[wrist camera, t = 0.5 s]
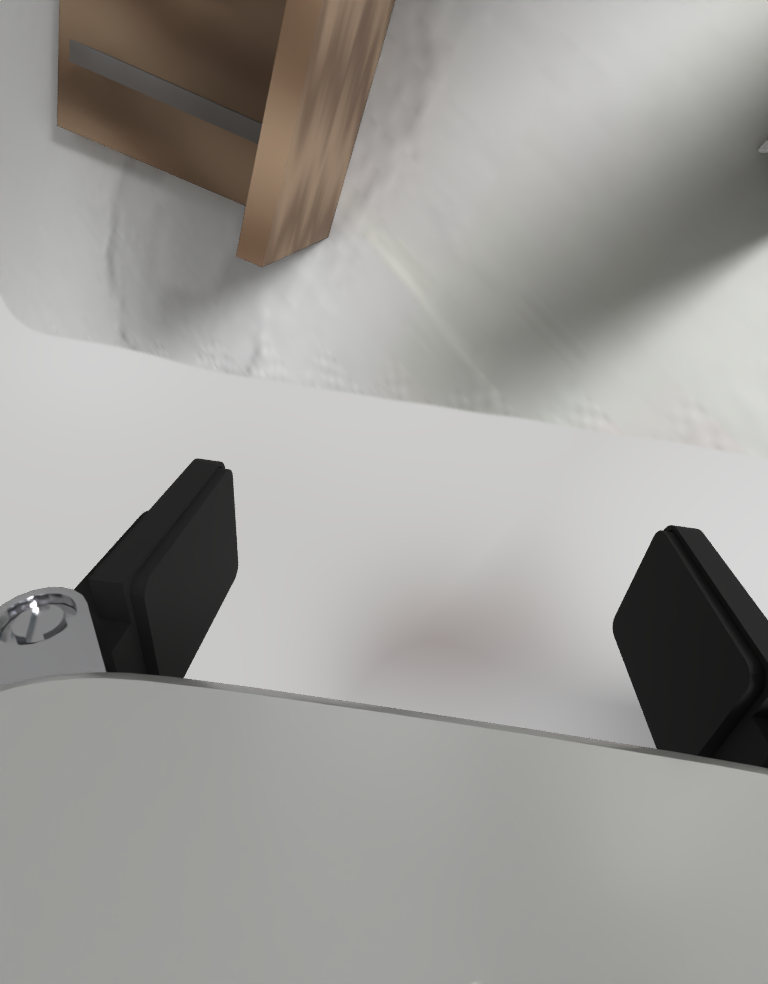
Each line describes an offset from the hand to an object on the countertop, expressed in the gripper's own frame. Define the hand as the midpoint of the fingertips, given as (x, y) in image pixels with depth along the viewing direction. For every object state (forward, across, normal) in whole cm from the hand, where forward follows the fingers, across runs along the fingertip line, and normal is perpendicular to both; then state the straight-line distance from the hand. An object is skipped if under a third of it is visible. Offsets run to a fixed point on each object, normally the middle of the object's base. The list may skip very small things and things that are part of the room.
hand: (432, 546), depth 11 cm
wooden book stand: (+30, +15, -13) cm, 36 cm away
